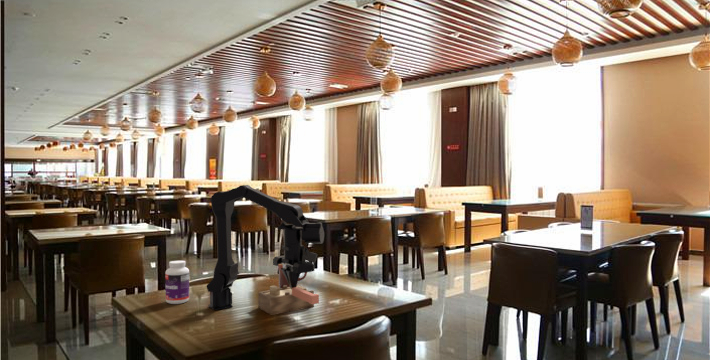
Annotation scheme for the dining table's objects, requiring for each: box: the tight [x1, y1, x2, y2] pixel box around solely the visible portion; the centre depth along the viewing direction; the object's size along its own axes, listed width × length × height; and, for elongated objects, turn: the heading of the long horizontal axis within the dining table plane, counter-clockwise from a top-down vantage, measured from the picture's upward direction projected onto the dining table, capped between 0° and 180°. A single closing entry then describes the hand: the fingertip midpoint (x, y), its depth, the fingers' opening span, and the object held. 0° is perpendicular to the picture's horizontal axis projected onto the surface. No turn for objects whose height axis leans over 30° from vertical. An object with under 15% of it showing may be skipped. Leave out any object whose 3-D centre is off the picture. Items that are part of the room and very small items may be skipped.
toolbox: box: [257, 284, 315, 316], centre depth 165 cm, size 16×10×6 cm, turn 125°
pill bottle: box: [164, 260, 190, 305], centre depth 173 cm, size 8×8×14 cm
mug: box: [277, 264, 308, 288], centre depth 191 cm, size 12×9×10 cm
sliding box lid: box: [265, 285, 310, 297], centre depth 165 cm, size 14×7×3 cm, turn 125°
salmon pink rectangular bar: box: [292, 287, 320, 305], centre depth 154 cm, size 2×14×3 cm, turn 35°
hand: (293, 289), depth 160 cm, fingers closed
